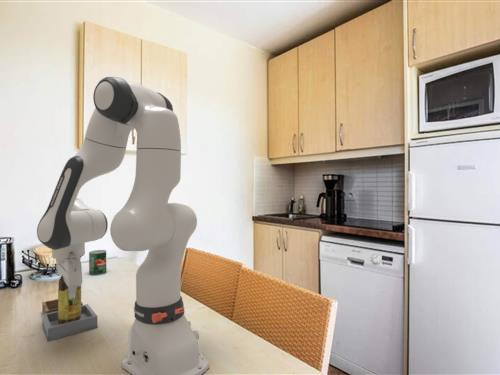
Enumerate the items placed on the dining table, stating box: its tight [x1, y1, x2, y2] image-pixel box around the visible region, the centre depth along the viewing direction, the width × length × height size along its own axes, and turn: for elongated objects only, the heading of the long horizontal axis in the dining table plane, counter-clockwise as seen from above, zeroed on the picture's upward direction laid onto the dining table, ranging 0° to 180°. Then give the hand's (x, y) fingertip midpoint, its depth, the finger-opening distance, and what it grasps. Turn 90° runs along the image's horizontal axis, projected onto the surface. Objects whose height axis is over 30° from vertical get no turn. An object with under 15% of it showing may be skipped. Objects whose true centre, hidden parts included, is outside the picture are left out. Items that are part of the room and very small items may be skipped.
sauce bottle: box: [57, 275, 82, 324], centre depth 97 cm, size 7×6×20 cm
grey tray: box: [41, 303, 99, 342], centre depth 97 cm, size 13×13×4 cm
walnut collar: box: [41, 298, 84, 314], centre depth 107 cm, size 11×11×4 cm
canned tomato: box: [88, 249, 107, 277], centre depth 156 cm, size 8×8×11 cm
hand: (69, 294), depth 97 cm, fingers closed on sauce bottle, 6 cm apart
